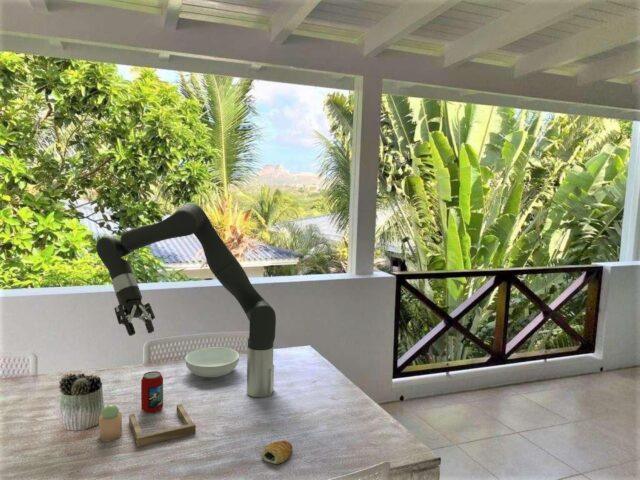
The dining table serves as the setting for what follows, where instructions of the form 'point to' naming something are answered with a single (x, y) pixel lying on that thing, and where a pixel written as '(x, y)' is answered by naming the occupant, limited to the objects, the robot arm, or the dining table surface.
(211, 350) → the serving bowl
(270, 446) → the pastry
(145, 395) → the beverage can
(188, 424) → the corral
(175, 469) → the dining table surface
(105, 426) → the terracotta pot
